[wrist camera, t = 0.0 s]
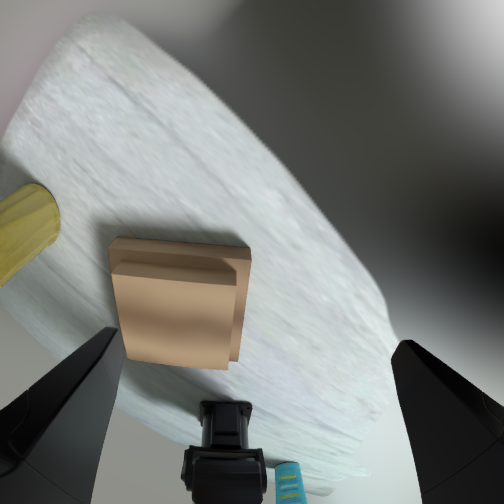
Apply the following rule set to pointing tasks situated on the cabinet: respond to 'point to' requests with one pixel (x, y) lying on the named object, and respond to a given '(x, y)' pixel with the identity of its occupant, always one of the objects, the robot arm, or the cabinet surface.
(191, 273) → the pedestal
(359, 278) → the cabinet surface
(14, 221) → the vase
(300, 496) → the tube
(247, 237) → the cabinet surface
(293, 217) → the cabinet surface
